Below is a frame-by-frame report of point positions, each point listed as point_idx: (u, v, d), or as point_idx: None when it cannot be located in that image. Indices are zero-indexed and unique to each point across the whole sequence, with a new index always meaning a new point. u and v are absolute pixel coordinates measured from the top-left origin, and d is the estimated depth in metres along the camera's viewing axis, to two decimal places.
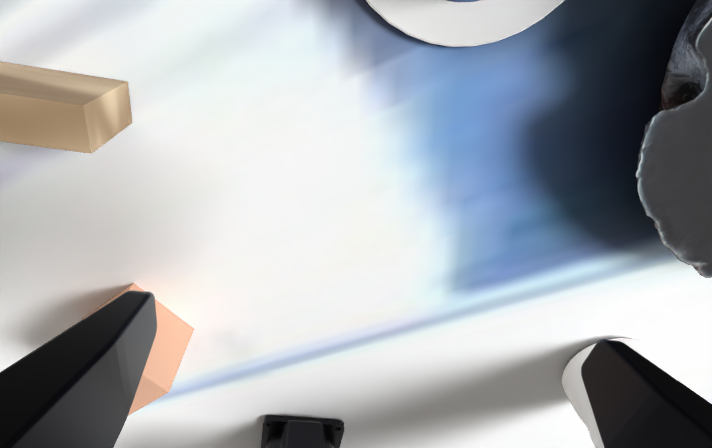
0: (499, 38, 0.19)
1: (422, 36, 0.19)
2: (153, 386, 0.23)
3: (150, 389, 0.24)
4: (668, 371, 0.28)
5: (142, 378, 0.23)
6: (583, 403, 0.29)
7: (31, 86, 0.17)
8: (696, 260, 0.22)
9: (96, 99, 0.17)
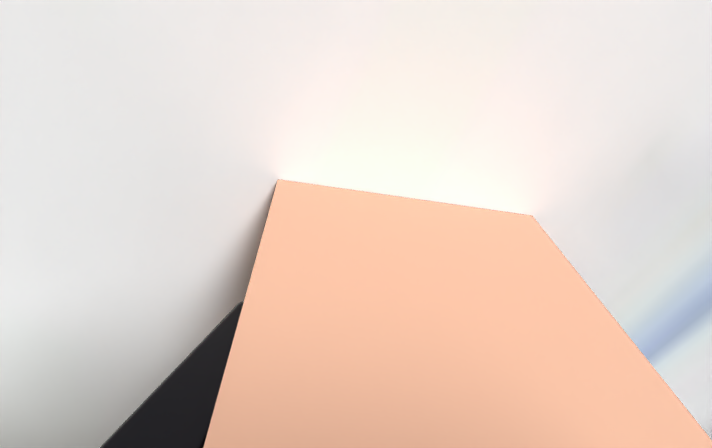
0: None
1: None
2: None
3: None
4: None
5: None
6: None
7: None
8: None
9: None
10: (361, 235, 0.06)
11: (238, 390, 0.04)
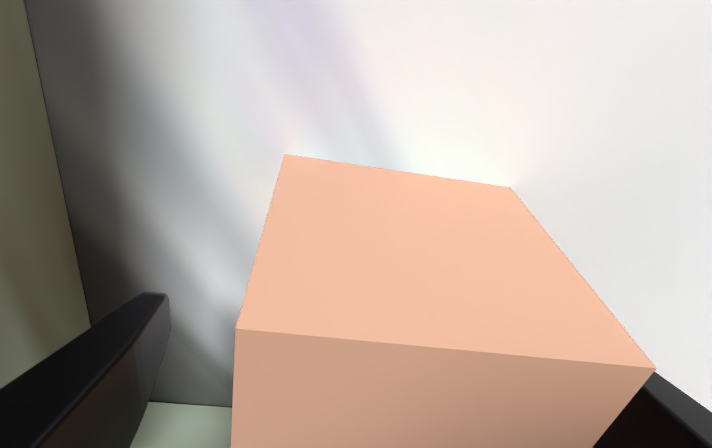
0: None
1: None
2: (581, 381, 0.05)
3: (574, 396, 0.05)
4: None
5: (519, 369, 0.05)
6: None
7: None
8: None
9: None
10: (357, 196, 0.08)
11: (260, 294, 0.05)
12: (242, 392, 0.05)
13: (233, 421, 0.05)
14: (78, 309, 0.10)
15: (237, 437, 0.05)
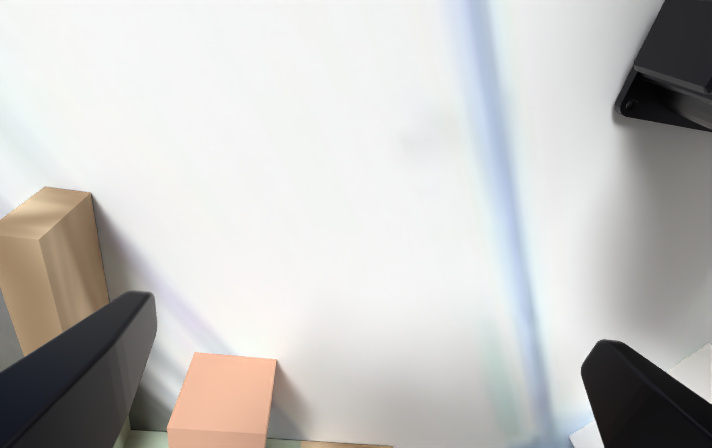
0: None
1: None
2: (248, 436, 0.22)
3: (249, 440, 0.22)
4: None
5: (232, 434, 0.22)
6: None
7: None
8: None
9: (1, 220, 0.17)
10: (213, 374, 0.24)
11: (173, 417, 0.22)
12: (170, 439, 0.22)
13: (169, 445, 0.22)
14: None
15: None
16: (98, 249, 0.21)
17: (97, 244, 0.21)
